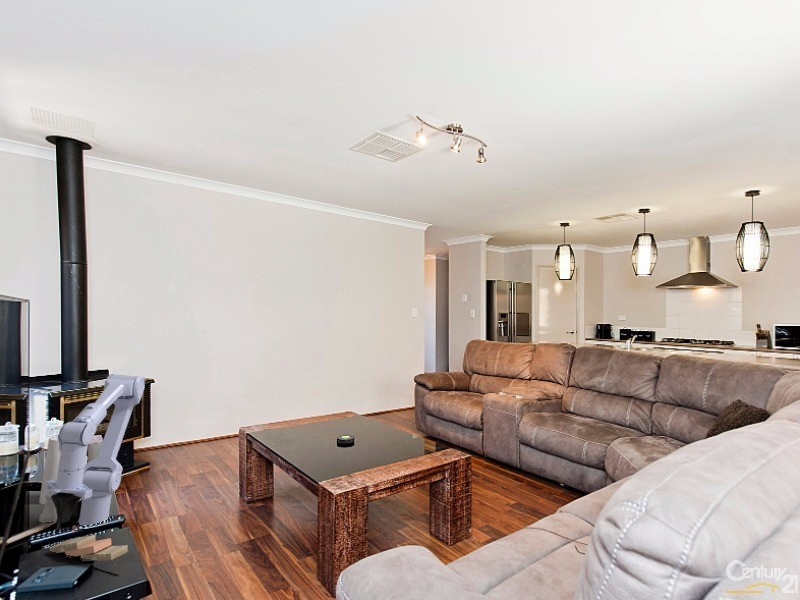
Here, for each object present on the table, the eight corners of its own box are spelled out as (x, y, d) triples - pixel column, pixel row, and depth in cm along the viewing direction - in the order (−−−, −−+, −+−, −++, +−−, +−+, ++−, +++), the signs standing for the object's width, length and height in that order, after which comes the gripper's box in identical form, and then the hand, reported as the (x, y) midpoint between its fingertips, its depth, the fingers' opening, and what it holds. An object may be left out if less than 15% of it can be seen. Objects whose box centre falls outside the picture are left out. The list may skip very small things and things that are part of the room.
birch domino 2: (80, 555, 112) (110, 553, 110) (98, 547, 116) (127, 545, 115) (81, 562, 111) (111, 560, 110) (98, 553, 116) (127, 551, 114)
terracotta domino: (64, 551, 113) (93, 546, 111) (83, 543, 118) (110, 538, 116) (65, 558, 113) (94, 552, 111) (83, 549, 117) (111, 544, 116)
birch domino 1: (49, 547, 114) (76, 542, 112) (68, 539, 119) (95, 534, 117) (50, 554, 114) (77, 549, 112) (69, 545, 119) (95, 541, 117)
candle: (37, 505, 141) (47, 441, 143) (41, 497, 148) (50, 436, 149) (80, 501, 147) (89, 439, 149) (82, 494, 153) (91, 434, 155)
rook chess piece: (37, 519, 132) (41, 491, 133) (56, 516, 135) (60, 488, 136) (39, 524, 129) (43, 496, 130) (58, 521, 132) (62, 493, 133)
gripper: (36, 467, 117) (28, 521, 116) (76, 477, 113) (68, 533, 111) (63, 461, 124) (56, 512, 123) (102, 470, 119) (95, 523, 118)
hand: (63, 521), depth 117 cm, fingers closed
